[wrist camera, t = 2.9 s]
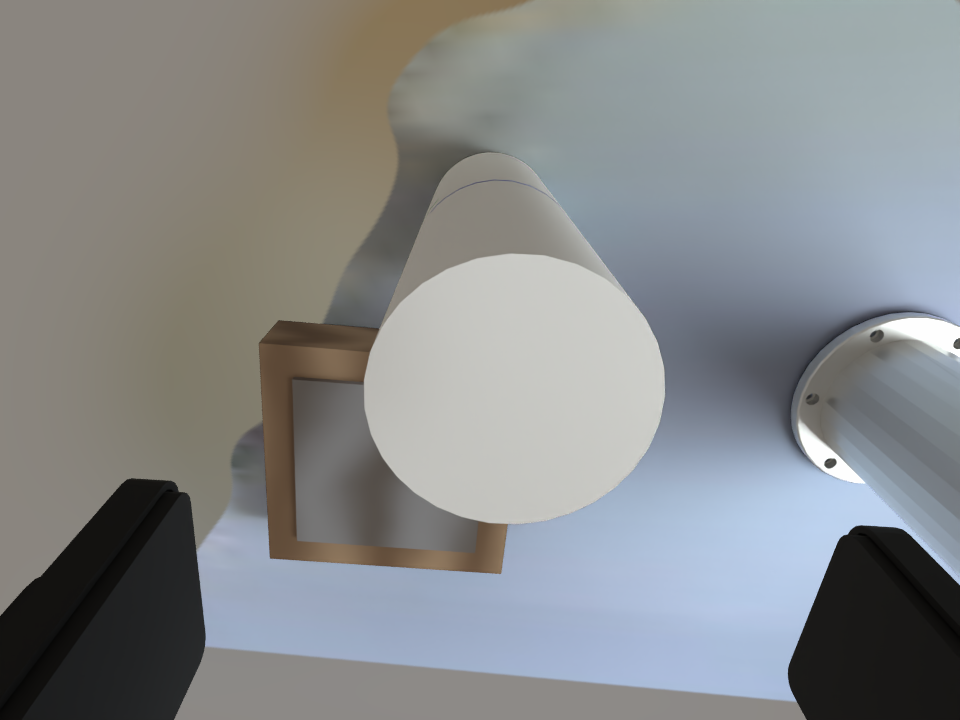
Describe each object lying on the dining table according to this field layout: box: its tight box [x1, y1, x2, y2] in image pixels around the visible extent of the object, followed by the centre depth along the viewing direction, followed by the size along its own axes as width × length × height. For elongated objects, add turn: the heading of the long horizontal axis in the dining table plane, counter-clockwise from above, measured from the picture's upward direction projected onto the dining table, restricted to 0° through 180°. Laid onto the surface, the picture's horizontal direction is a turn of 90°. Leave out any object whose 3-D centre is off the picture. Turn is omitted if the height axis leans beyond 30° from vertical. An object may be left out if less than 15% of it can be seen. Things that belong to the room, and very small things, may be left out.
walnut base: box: [259, 320, 508, 574], centre depth 42 cm, size 16×16×4 cm
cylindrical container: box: [364, 152, 665, 524], centre depth 26 cm, size 7×7×25 cm
